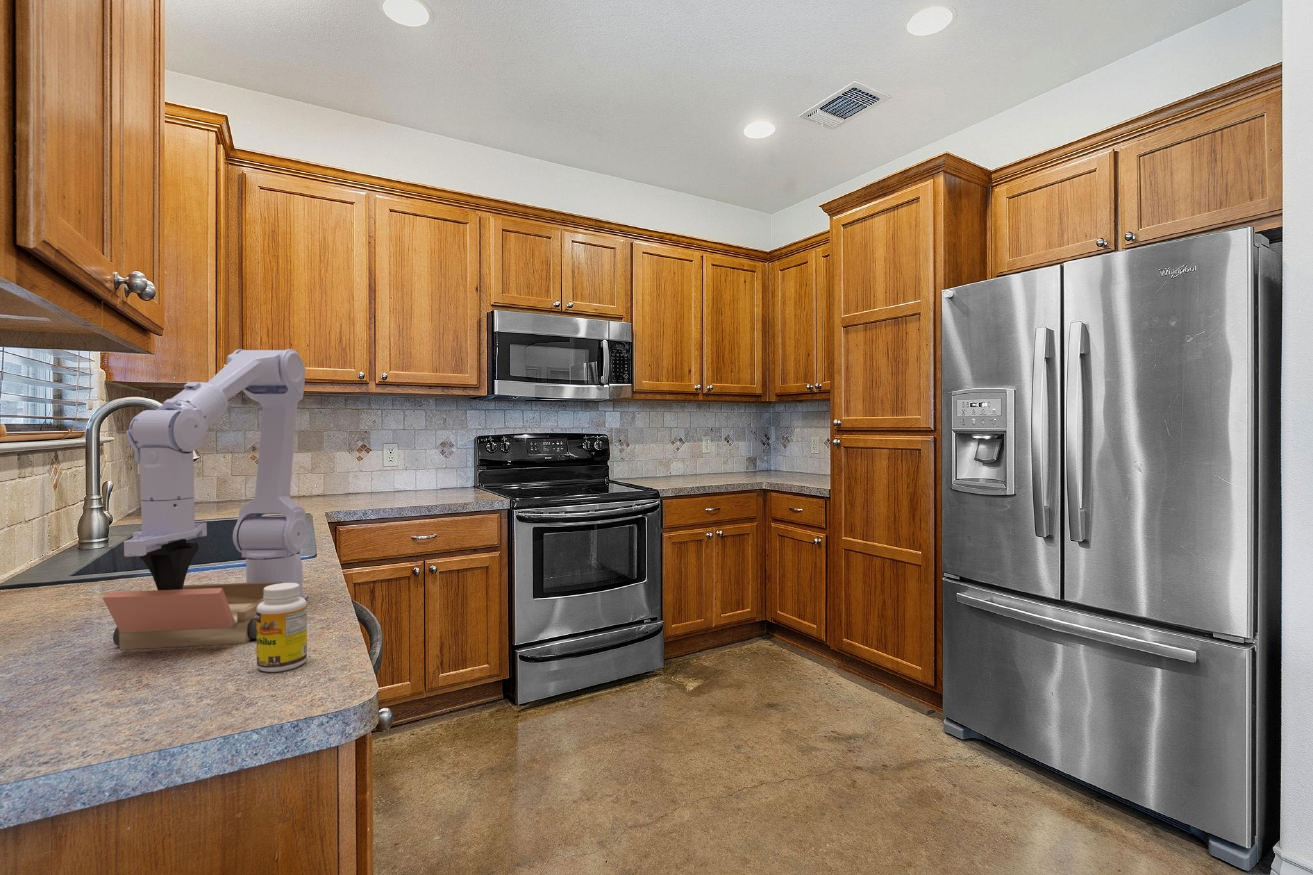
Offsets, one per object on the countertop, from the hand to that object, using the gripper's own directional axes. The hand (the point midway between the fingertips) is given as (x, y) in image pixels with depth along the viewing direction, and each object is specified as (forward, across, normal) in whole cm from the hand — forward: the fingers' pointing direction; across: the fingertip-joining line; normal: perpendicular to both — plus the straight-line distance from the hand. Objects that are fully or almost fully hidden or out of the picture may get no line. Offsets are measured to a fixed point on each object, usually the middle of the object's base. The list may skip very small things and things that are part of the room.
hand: (170, 598), depth 86 cm
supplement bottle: (+8, +7, +17) cm, 20 cm away
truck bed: (+8, -9, 0) cm, 12 cm away
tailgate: (+4, -2, 0) cm, 5 cm away
